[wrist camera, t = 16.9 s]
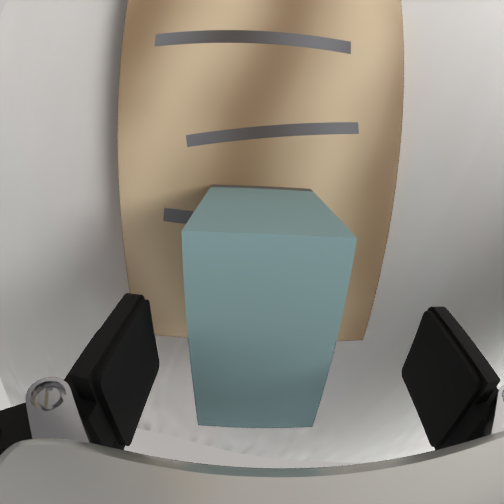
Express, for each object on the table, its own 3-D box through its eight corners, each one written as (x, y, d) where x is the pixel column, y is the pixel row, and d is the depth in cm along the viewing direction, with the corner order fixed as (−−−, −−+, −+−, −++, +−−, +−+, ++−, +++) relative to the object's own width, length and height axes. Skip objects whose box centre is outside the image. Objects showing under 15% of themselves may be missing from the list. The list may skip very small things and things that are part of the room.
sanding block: (212, 184, 12) (181, 230, 7) (310, 188, 12) (357, 238, 7) (213, 327, 15) (198, 424, 9) (294, 330, 15) (312, 426, 10)
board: (390, -4, 10) (400, -12, 9) (356, 327, 17) (363, 339, 15) (140, -19, 10) (132, -28, 8) (143, 320, 16) (137, 333, 15)
